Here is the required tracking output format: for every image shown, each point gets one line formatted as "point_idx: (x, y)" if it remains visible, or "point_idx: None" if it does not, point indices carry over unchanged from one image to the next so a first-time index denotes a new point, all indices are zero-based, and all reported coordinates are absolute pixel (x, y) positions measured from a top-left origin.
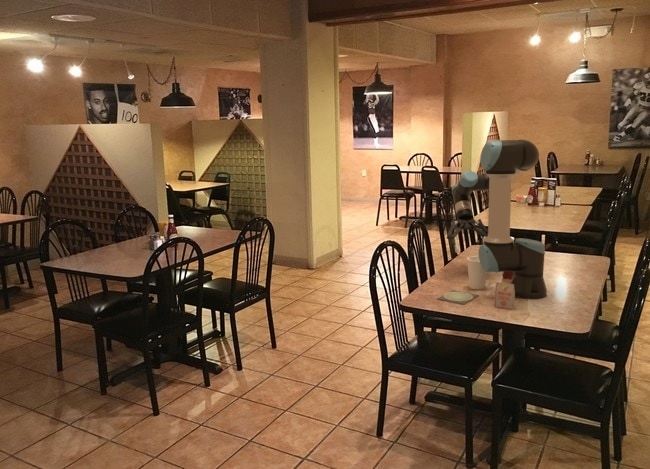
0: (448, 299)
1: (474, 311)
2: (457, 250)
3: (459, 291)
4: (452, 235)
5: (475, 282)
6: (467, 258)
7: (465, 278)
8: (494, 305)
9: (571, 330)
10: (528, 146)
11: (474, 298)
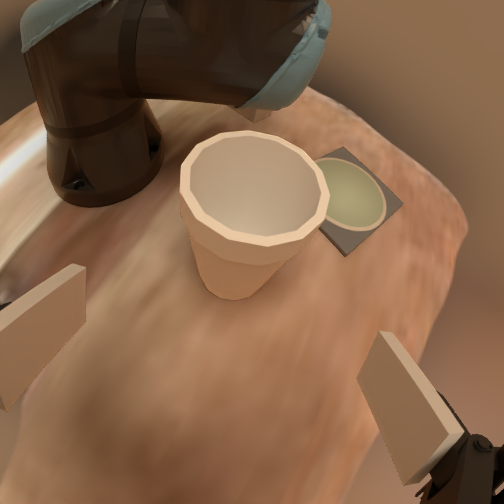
0: (376, 183)
1: (327, 116)
2: (374, 348)
3: (329, 231)
4: (490, 455)
5: (260, 229)
6: (323, 210)
7: (220, 418)
8: (270, 111)
9: None
10: None
11: None
